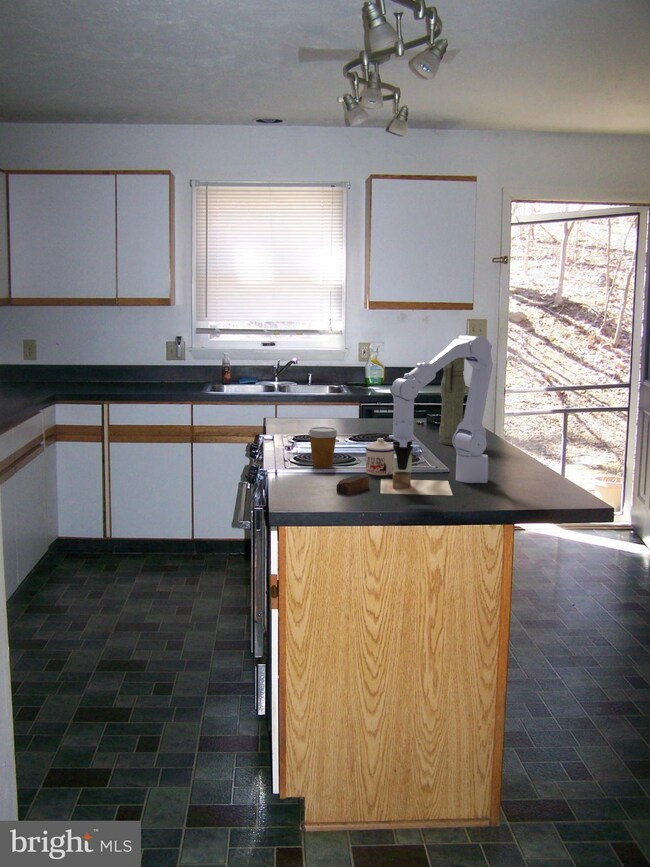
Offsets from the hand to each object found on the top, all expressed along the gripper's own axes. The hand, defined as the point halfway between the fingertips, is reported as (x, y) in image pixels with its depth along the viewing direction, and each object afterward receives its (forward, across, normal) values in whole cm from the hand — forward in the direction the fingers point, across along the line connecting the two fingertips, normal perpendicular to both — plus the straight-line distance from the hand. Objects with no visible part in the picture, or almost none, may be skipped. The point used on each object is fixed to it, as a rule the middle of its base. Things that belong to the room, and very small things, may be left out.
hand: (402, 467), depth 250 cm
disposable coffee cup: (+7, -31, -25) cm, 40 cm away
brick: (+7, +6, -14) cm, 17 cm away
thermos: (+7, -78, +20) cm, 81 cm away
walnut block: (+6, 0, 0) cm, 6 cm away
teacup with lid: (+7, -18, -5) cm, 20 cm away
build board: (+7, 0, +4) cm, 8 cm away
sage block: (+1, 0, 0) cm, 1 cm away
